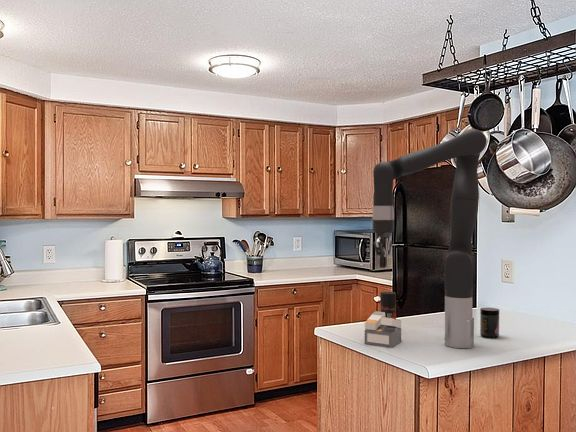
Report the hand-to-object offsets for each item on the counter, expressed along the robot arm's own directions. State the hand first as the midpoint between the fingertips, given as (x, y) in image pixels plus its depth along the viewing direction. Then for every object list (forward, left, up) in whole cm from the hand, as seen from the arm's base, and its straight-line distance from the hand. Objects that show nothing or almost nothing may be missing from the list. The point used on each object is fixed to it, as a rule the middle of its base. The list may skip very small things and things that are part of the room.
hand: (383, 267), depth 191 cm
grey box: (0, 0, -27) cm, 27 cm away
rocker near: (-3, 0, -21) cm, 21 cm away
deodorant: (+5, -19, -27) cm, 34 cm away
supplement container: (-31, -29, -27) cm, 50 cm away
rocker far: (+3, 0, -21) cm, 21 cm away
